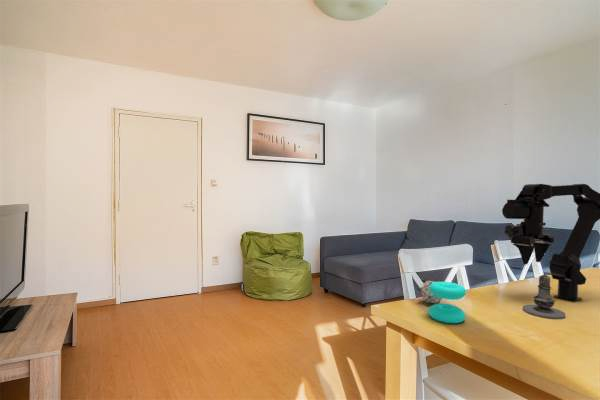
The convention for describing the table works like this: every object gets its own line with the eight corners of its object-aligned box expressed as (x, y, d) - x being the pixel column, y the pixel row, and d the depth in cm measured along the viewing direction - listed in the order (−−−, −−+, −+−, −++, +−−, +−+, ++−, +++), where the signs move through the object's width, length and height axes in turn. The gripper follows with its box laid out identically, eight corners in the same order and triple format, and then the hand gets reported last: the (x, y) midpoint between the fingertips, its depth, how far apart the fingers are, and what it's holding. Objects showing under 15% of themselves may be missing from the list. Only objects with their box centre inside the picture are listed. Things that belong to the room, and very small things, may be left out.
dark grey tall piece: (559, 312, 106) (561, 274, 105) (544, 313, 104) (546, 274, 104) (542, 306, 111) (543, 269, 111) (527, 307, 110) (529, 270, 110)
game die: (432, 316, 113) (429, 297, 107) (414, 300, 120) (411, 281, 114) (453, 302, 114) (451, 282, 109) (434, 287, 121) (431, 267, 116)
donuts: (422, 282, 103) (445, 279, 107) (421, 315, 103) (444, 310, 108) (449, 291, 94) (473, 287, 98) (448, 327, 94) (472, 321, 99)
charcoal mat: (532, 305, 115) (532, 302, 115) (571, 315, 106) (571, 312, 106) (515, 310, 109) (515, 307, 109) (555, 321, 100) (555, 318, 100)
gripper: (521, 217, 133) (520, 257, 133) (496, 218, 123) (494, 261, 123) (555, 219, 124) (553, 262, 124) (530, 220, 114) (528, 267, 114)
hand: (531, 263), depth 121 cm, fingers open, 9 cm apart
